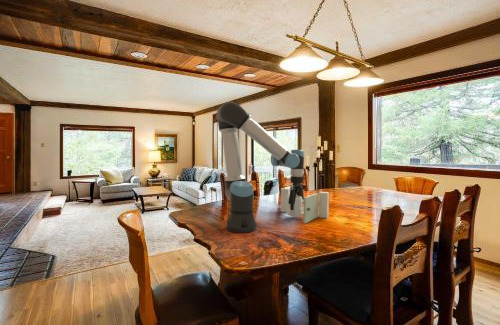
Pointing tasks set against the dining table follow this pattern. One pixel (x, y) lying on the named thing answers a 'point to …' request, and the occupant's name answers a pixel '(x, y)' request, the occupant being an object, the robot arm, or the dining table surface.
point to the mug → (296, 206)
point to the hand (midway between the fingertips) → (296, 213)
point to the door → (310, 207)
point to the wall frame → (322, 212)
